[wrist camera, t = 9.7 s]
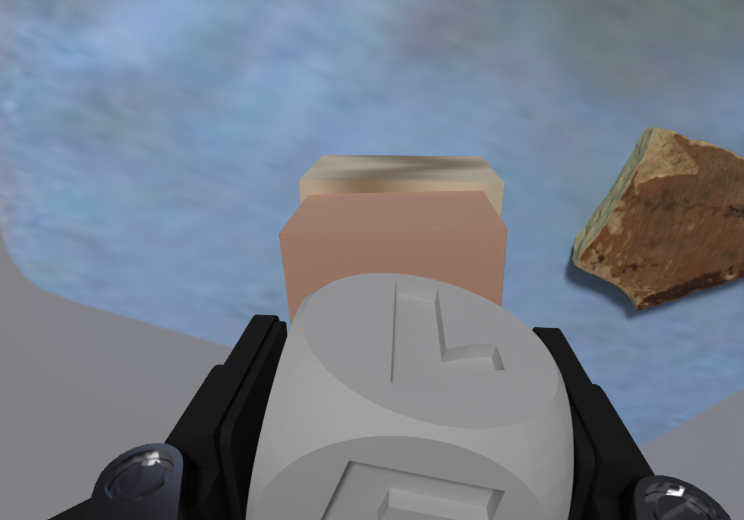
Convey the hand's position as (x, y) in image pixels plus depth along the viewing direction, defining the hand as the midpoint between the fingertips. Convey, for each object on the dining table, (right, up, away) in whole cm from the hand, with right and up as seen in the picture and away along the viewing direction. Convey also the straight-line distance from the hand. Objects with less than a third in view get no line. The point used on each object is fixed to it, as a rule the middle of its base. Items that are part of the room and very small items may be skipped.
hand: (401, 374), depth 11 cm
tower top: (0, +2, +6) cm, 6 cm away
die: (0, 0, +1) cm, 1 cm away
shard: (+14, +6, +9) cm, 18 cm away
